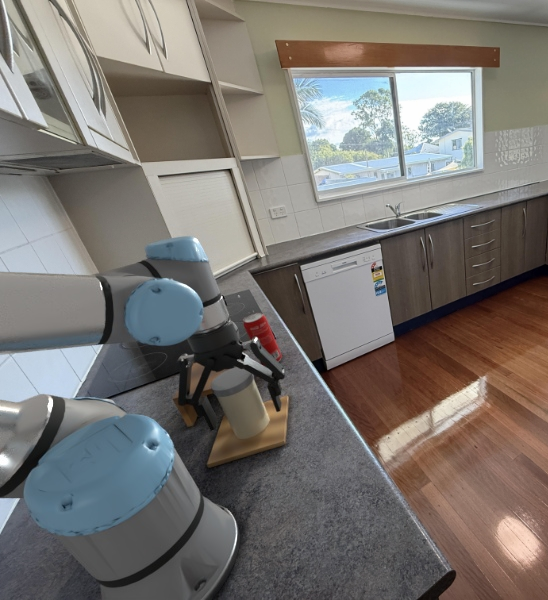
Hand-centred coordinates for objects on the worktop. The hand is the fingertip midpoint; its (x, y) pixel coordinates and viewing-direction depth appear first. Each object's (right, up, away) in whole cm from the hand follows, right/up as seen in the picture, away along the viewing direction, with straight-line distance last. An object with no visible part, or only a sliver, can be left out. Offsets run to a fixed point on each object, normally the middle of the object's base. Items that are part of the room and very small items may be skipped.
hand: (247, 416), depth 64 cm
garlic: (-41, -5, +12) cm, 43 cm away
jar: (0, -2, +1) cm, 3 cm away
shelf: (-12, 0, +12) cm, 17 cm away
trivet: (+1, -3, +2) cm, 4 cm away
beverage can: (-5, +6, +25) cm, 26 cm away
